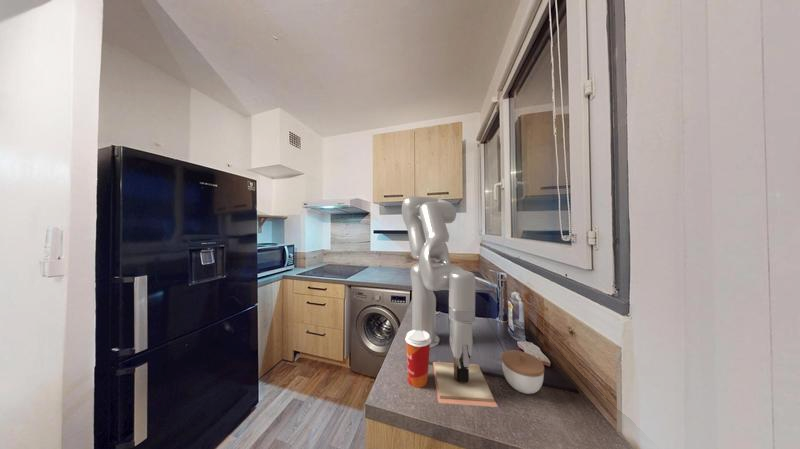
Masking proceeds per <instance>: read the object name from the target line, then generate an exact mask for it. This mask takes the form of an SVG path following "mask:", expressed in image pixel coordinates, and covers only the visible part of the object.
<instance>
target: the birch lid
mask: <svg viewBox="0 0 800 449" xmlns="http://www.w3.org/2000/svg"><path fill="white" fill-rule="evenodd" d="M461 355H462V354H461ZM462 356H463V355H462ZM434 362H435V370H436V377H437V384H438V391H439V397H440V398H441V399H456V400H471V401H485V402H494V399H495V398H493V397H494V396H492V395H493V393H492V391H491V389H490V387H489V384H488V383H486V382H487V380H486V379H484V378H485V376H484V374H483V372H482V369H481V368H479V367H480V366H478V365H479V364H477V365H471V364H472V363H469V381H468V382H458V381H457V366H458V358H457V359H456V358H455V357H454V356H453V362H442V363H436V362H437V361H434ZM461 362H463V359H461ZM453 363H454V364H453ZM480 369H481V370H480ZM482 374H483V375H482ZM483 376H484V377H483ZM485 380H486V381H485ZM487 384H488V385H487ZM489 389H490V390H489ZM490 391H491V392H490ZM491 393H492V394H491Z"/></svg>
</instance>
